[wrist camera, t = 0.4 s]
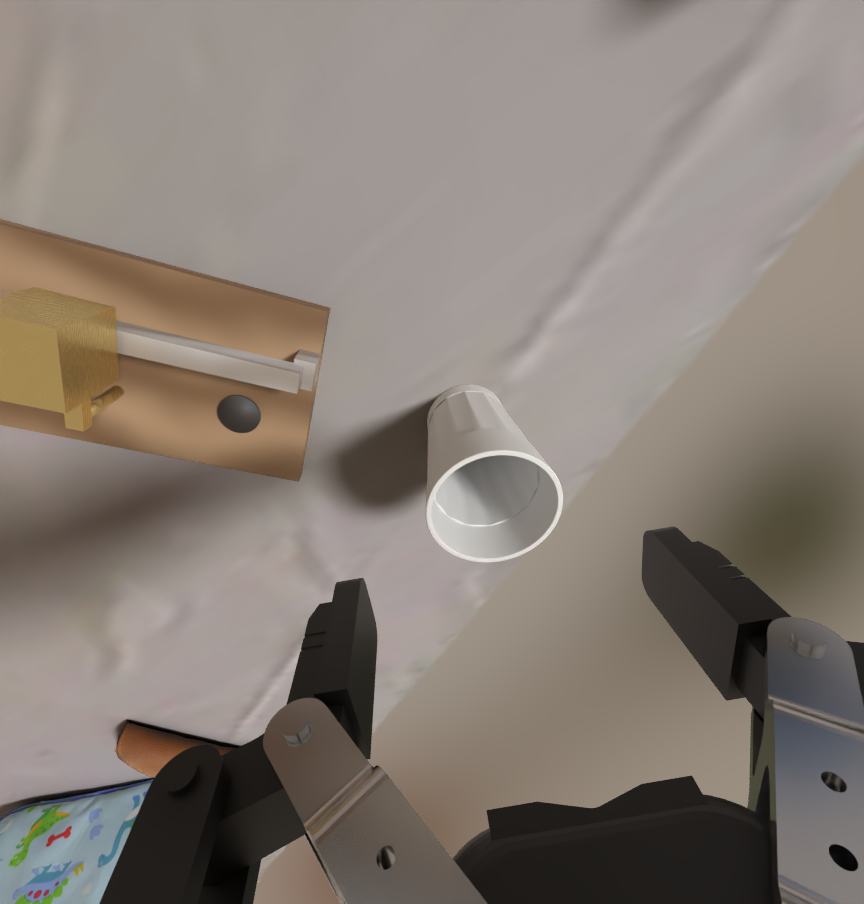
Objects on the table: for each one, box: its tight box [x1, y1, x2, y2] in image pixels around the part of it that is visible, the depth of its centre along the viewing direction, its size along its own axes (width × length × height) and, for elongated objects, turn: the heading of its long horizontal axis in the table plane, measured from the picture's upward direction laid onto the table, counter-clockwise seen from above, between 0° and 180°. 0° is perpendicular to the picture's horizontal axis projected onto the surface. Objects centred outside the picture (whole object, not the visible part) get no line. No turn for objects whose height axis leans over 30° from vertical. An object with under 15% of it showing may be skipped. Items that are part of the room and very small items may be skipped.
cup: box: [426, 385, 563, 562], centre depth 31 cm, size 8×8×12 cm
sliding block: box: [0, 287, 124, 432], centre depth 26 cm, size 8×4×9 cm, turn 164°
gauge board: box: [0, 219, 330, 481], centre depth 29 cm, size 14×22×6 cm, turn 74°
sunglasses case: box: [115, 719, 236, 778], centre depth 55 cm, size 18×7×7 cm, turn 58°
